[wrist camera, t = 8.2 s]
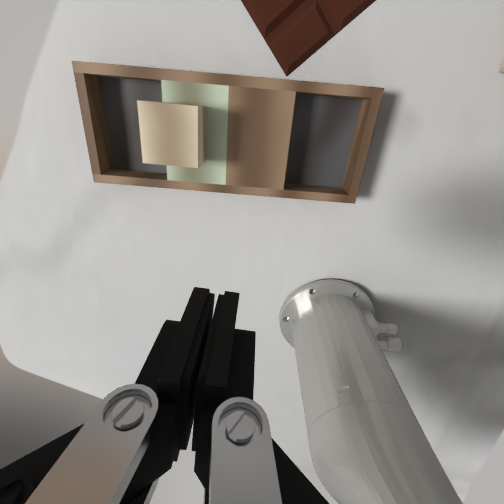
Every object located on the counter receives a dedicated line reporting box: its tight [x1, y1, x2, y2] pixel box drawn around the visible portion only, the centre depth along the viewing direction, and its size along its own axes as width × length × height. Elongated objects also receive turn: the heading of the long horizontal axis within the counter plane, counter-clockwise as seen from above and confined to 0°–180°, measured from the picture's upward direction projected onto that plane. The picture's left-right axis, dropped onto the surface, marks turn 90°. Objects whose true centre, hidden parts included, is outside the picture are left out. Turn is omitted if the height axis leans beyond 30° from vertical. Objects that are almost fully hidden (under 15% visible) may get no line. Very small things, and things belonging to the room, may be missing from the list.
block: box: [137, 100, 207, 168], centre depth 23 cm, size 4×4×4 cm
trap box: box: [72, 61, 384, 203], centre depth 27 cm, size 26×10×3 cm, turn 86°
